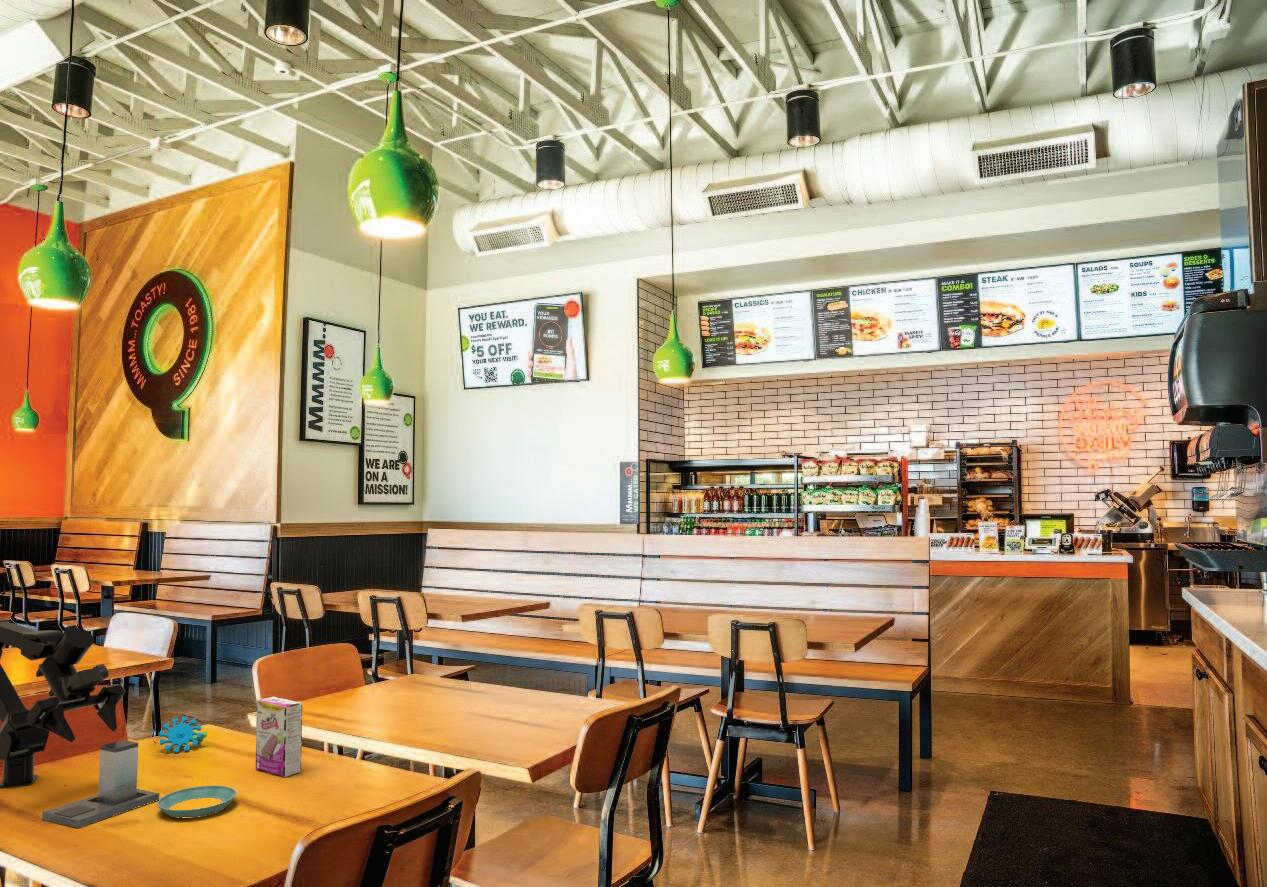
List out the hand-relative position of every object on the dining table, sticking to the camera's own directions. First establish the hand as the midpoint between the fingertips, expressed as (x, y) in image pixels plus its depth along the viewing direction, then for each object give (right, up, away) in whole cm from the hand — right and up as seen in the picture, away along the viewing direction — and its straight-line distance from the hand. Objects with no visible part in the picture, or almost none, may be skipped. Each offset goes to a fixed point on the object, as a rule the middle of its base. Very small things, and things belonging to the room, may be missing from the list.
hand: (94, 735), depth 189 cm
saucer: (+25, -14, -6) cm, 29 cm away
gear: (0, -16, +36) cm, 40 cm away
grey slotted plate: (+6, -13, -7) cm, 16 cm away
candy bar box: (+32, -15, +18) cm, 40 cm away
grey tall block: (+7, -13, -4) cm, 16 cm away
